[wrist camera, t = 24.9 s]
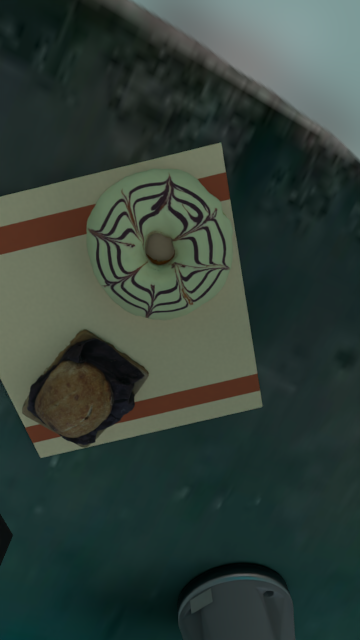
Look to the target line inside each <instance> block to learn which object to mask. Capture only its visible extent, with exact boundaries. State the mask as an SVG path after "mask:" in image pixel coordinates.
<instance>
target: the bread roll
mask: <svg viewBox="0 0 360 640" xmlns="http://www.w3.org/2000/svg"><path fill="white" fill-rule="evenodd" d="M46 369H47V371H46V372H45V371H44V375H40V377H39V378H38V379H37V381H36V382H35V383H33V384H32V385H31V387H30V392H29V395H28V397H27V399H26V400H25V402H24V404H23V407H22V413H23V414H24V415H25V416H26V417H28V418H30V419H31V420H34V421H35V422H37V423H39V424H40V425H42V426H44V427H46V428H48V429H49V430H51V431H53V432H55V433H57V434H59V435H60V436H61V437H62V438H63V439H65V440H67V441H70V442H73V443H75V444H77V445H79V446H80V447H84V448H86V447H88V446H89V445H90V444H92V443H95V442H96V441H95V440H96V439H97V438H98V437H99V436H100V435H101V434H102V433H103V432H104V431H105V430H106V429H107V428H108V427H110V426H113V425H114V424H115V423H117V422H119V421H121V418H122V417H123V415H125V414H127V413H129V412H130V411H132V410H133V408H134V406H135V402H134V397H135V395H136V394H137V392H138V391H139V390H140V388H141V387H142V385H143V384H144V383H145V381H146V380H147V378H148V376H149V372H148V371H147V370H146V369H145V368H144V366H141V365H139V364H138V362H135V361H134V360H132V359H131V358H130V357H129V356H128V355H127V354H125V353H121V352H120V351H118V350H117V349H116V348H115V347H114V345H113V344H111V343H109V342H105V341H104V340H102V339H101V338H99V337H97V336H96V335H94V334H93V333H92V332H90V331H88V330H85V329H84V330H82V331H80V332H79V333H77V334H76V337H75V338H73V339H72V340H71V341H70V345H69V346H66V348H65V349H64V350H63V351H61V352H60V353H59V354H58V357H56V358H55V361H54V362H53V363H52V364H51V365H50V366H49V368H46ZM46 369H45V370H46Z"/></svg>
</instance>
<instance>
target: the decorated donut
mask: <svg viewBox="0 0 360 640" xmlns="http://www.w3.org/2000/svg"><path fill="white" fill-rule="evenodd" d="M154 233H159V234H162V235H163V236H164V237H170V238H171V239H172V243H173V246H174V248H175V251H174V255H173V256H172V257H171V259H169V260H166V261H157V259H156V260H153V259H152V258H151V257H150V256H149V255H147V254H146V245H147V240H148V238H149V236H151V235H152V234H154ZM232 235H233V227H232V224H231V222H230V220H229V219H228V218H227V216H226V215H225V214H224V213H223V210H222V204H221V202H220V201H219V200H218V199H217V198H216V197H214V196H213V195H212V194H210V193H209V192H208V191H207V190H206V189H205V187H204V186H203V185H202V184H201V183H200V182H199V180H198V179H196V178H195V177H193V176H192V175H190V174H189V173H187V172H185V171H182V170H179V169H150V170H147V171H143V172H139V173H135V174H132V175H130V176H127V177H125V178H123V179H122V180H120V181H119V182H117V183H115V184H114V185H112V186H111V187H109V188H108V189H107V190H106V191H105V192H104V193H103V194H102V195H101V196H100V198H99V199H98V201H97V202H96V205H95V207H94V208H93V210H92V212H91V214H90V216H89V217H88V220H87V237H86V245H87V251H88V255H89V257H90V263H91V265H92V268H93V272H94V275H95V276H96V278H97V280H98V282H99V284H100V285H101V286H102V288H103V289H104V290H105V291H106V293H107V294H108V295H109V297H110V298H111V299H112V300H113V301H114V302H115V303H116V304H118V305H119V306H121V307H122V308H123V309H124V310H125V311H127V312H129V313H131V314H133V315H135V316H142V317H145V318H148V319H153V320H171V319H174V318H178V317H181V316H185V315H187V314H189V313H190V312H192V311H194V310H195V309H197V308H198V307H200V306H201V305H202V304H204V303H206V302H208V301H209V300H211V299H212V298H213V297H214V296H215V295H216V294H217V293H218V292H219V291H220V290H221V289H222V287H223V286H224V284H225V282H226V280H227V278H228V275H229V272H230V270H231V265H232V258H233V245H232Z"/></svg>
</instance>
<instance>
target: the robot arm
mask: <svg viewBox="0 0 360 640" xmlns="http://www.w3.org/2000/svg"><path fill="white" fill-rule="evenodd" d="M12 536H13V534H12V533H11V531H10V529H9V528H8V526H7V524H6V523H5V521H4V519H3V518H2V516H1V514H0V565H1V563H2V560H3V558H4V556H5V553H6V551H7V548H8V546H9V544H10V541H11V539H12ZM177 607H178V624H179V628H180V631H181V634H182V637H183V640H295V630H294V614H293V602H292V599H291V596H290V593H289V590H288V587H287V584H286V582H285V581H284V579H283V578H282V577H281V576H280V575H279V574H277V573H276V572H274V571H272V570H270V569H268V568H265V567H262V566H258V565H250V564H236V565H228V566H223V567H219V568H216V569H213V570H210V571H208V572H206V573H204V574H202V575H200V576H198V577H197V578H195V579H194V580H192V581H191V582H190V583H189V584H188V585H187V586H186V587H185V588H184V589H183V591H182V592H181V594H180V596H179V599H178V606H177Z"/></svg>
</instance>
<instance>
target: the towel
mask: <svg viewBox="0 0 360 640" xmlns="http://www.w3.org/2000/svg"><path fill="white" fill-rule="evenodd" d="M150 169H179V170H182V171H185V172H187V173H189V174H190V175H192V176H193V177H195V178H196V179H198V180H199V182H200V183H201V184H202V185H203V186H204V187H205V189H206V190H207V191H208V192H209V193H210V194H212V195H213V196H214V197H216V198H217V199H218V200H219V201H220V202H221V204H222V210H223V213H224V214H225V215H226V216H227V218H228V219H229V220H230V222H231V224H232V227H233V235H232V245H233V258H232V265H231V270H230V272H229V275H228V278H227V280H226V282H225V284H224V286H223V287H222V289H221V290H220V291H219V292H218V293H217V294H216V295H215V296H214V297H213V298H212V299H211V300H209V301H208V302H206V303H204V304H202V305H201V306H200V307H198V308H197V309H195V310H194V311H192V312H190V313H189V314H187V315H185V316H181V317H178V318H174V319H171V320H153V319H148V318H145V317H142V316H135V315H133V314H131V313H129V312H127V311H125V310H124V309H123V308H122V307H121V306H119V305H118V304H116V303H115V302H114V301H113V300H112V299H111V298H110V297H109V295H108V294H107V293H106V291H105V290H104V289H103V288H102V286H101V285H100V284H99V282H98V280H97V278H96V276H95V275H94V272H93V268H92V265H91V263H90V257H89V255H88V251H87V245H86V237H87V220H88V217H89V216H90V214H91V212H92V210H93V208H94V207H95V205H96V202H97V201H98V199H99V198H100V196H101V195H102V194H103V193H104V192H105V191H106V190H107V189H108V188H109V187H111V186H112V185H114V184H115V183H117V182H119V181H120V180H122V179H123V178H125V177H127V176H130V175H132V174H135V173H139V172H143V171H147V170H150ZM174 251H175V248H174V246H173V243H172V239H171V238H170V237H164V236H163V235H162V234H159V233H154V234H152V235H151V236H149V238H148V240H147V245H146V254H147V255H149V256H150V257H151V258H152V259H153V260H156V259H157V261H166V260H169V259H171V257H172V256H173V255H174ZM84 329H85V330H88V331H90V332H92V333H93V334H94V335H96V336H97V337H99V338H101V339H102V340H104V341H105V342H109V343H111V344H113V345H114V347H115V348H116V349H117V350H118V351H120V352H121V353H125V354H127V355H128V356H129V357H130V358H131V359H132V360H134V361H135V362H138V364H139V365H141V366H144V368H145V369H146V370H147V371H148V372H149V376H148V378H147V380H146V381H145V383H144V384H143V385H142V387H141V388H140V390H139V391H138V392H137V394H136V395H135V397H134V402H135V406H134V408H133V410H132V411H130V412H129V413H127V414H125V415H123V417H122V418H121V421H119V422H117V423H115V424H114V425H113V426H110V427H108V428H107V429H106V430H105V431H104V432H103V433H102V434H101V435H100V436H99V437H98V438H97V439H96V440H95V441H96V442H95V443H92V444H90V445H89V446H88V447H90V446H95V445H99V444H103V443H108V442H112V441H116V440H121V439H125V438H129V437H134V436H138V435H143V434H147V433H151V432H156V431H160V430H164V429H169V428H173V427H177V426H182V425H186V424H190V423H195V422H199V421H203V420H208V419H212V418H216V417H221V416H225V415H229V414H234V413H238V412H242V411H247V410H251V409H255V408H260V407H262V400H261V393H260V387H259V380H258V374H257V368H256V362H255V355H254V349H253V342H252V336H251V330H250V323H249V317H248V311H247V304H246V298H245V291H244V285H243V279H242V272H241V266H240V260H239V253H238V247H237V240H236V234H235V228H234V221H233V215H232V209H231V202H230V195H229V189H228V183H227V176H226V170H225V164H224V158H223V151H222V145H221V143H217V144H213V145H209V146H205V147H201V148H197V149H193V150H189V151H185V152H181V153H176V154H172V155H168V156H164V157H160V158H156V159H152V160H148V161H144V162H140V163H136V164H132V165H128V166H123V167H119V168H115V169H111V170H107V171H103V172H99V173H95V174H91V175H87V176H83V177H79V178H74V179H70V180H66V181H62V182H58V183H54V184H50V185H46V186H42V187H38V188H34V189H30V190H25V191H21V192H17V193H13V194H9V195H5V196H1V197H0V379H1V381H2V383H3V385H4V387H5V388H6V390H7V392H8V394H9V396H10V398H11V400H12V402H13V404H14V406H15V408H16V410H17V412H18V414H19V416H20V418H21V420H22V422H23V424H24V426H25V428H26V430H27V432H28V434H29V436H30V438H31V440H32V442H33V444H34V446H35V448H36V450H37V452H38V454H39V456H40V458H43V457H47V456H51V455H56V454H60V453H64V452H69V451H73V450H77V449H82V448H84V447H80V446H79V445H77V444H75V443H73V442H70V441H67V440H65V439H63V438H62V437H61V436H60V435H59V434H57V433H55V432H53V431H51V430H49V429H48V428H46V427H44V426H42V425H40V424H39V423H37V422H35V421H34V420H31V419H30V418H28V417H26V416H25V415H24V414H23V413H22V407H23V404H24V402H25V400H26V399H27V397H28V395H29V392H30V387H31V385H32V384H33V383H35V382H36V381H37V379H38V378H39V377H40V375H44V371H45V372H46V371H47V369H46V368H49V366H50V365H51V364H52V363H53V362H54V361H55V358H56V357H58V354H59V353H60V352H61V351H63V350H64V349H65V348H66V346H69V345H70V341H71V340H72V339H73V338H75V337H76V334H77V333H79V332H80V331H82V330H84ZM45 369H46V370H45Z"/></svg>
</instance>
